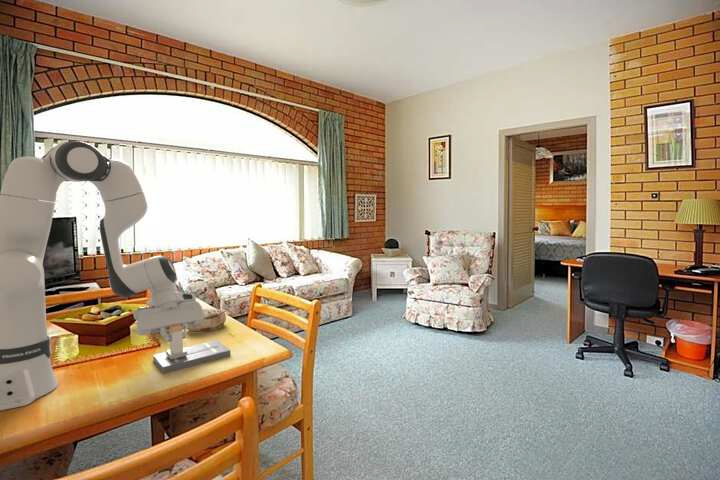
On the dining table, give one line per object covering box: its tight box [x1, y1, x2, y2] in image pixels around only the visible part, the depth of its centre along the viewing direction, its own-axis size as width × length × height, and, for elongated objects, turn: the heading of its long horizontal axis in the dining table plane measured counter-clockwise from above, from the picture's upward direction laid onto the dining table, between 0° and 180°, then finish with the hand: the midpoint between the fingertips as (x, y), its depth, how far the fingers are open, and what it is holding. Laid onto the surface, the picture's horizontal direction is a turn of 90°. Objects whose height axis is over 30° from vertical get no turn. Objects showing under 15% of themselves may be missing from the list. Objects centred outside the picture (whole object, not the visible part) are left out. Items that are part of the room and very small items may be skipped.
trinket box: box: [187, 307, 227, 334], centre depth 154 cm, size 13×15×8 cm
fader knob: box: [165, 325, 187, 359], centre depth 121 cm, size 5×5×10 cm
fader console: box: [152, 339, 231, 374], centre depth 125 cm, size 21×12×2 cm, turn 132°
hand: (176, 339), depth 120 cm, fingers closed on fader knob, 3 cm apart
